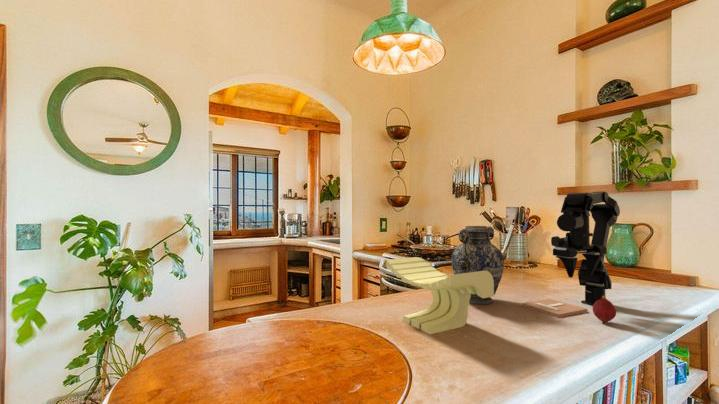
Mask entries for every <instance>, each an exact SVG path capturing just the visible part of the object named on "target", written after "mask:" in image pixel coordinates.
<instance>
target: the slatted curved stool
mask: <svg viewBox="0 0 719 404" xmlns="http://www.w3.org/2000/svg"><path fill="white" fill-rule="evenodd" d="M386 269H388V270H391V273H392V274H395V275H396V278H399V279H401V282H403V283H405V284H408V285H409V284H410V285H411V286H414V287H418V288H420V289H424V290H427V291H430V293H431V294H432V304H431V305H430V306H428V308H426V309H423V310H420V311H418V312H415V313H409V314H405V315H403V318H402V320H401V321H402V322H404V323H405V324H408V325H411V327H414V328H416V329H418V330H421V331H422V332H424V333H426V334H428V335H433V334H436V333H441V332H445V331H449V330H454V329H458V328H463V327H465V325H466V324H467V320H468V313H469V305H470V303H469V301H470V297H471V294H477V295H478V296H480V297H481V298H488V297H491V298H493V297H495V295H494V280H493V277H492V275H491V273H490V272H488V271H477V272H470V273H463V274H455V275H454V274H450V275H448V274H446V273H443V272H441V271H439V270H438V268H436V267H433V266H432V264H431V263H428V262H427V260H426V259H424V258H422V257H418V256H413V257H403V258H402V257H401V258H391V259H390V258H389V259H386Z"/></svg>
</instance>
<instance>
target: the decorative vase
mask: <svg viewBox="0 0 719 404" xmlns="http://www.w3.org/2000/svg"><path fill="white" fill-rule="evenodd" d="M494 238H495V230H494V228H493V227H492V226H486V225H467V226H466V225H465V227H464V228H462V229H460V230H459V232H458V240H459V242H461V243H460V244H458V245H457V246H455V248H454V249H453V251H452V254H451V267H452V271H453V275H455V274H463V273H470V272H477V271H488V272H490V273H491V275H492V277H493V280H494V296H495V295H496V292H497V290H498V287H499V285H500V283H501V281H502V278H503V274H504V268H505V267H504V266H505V265H504V264H505V262H504V255H503V252H502V251H501V249H499V248H498V246H496V245H495V244H493V243H492V240H493V239H494ZM493 302H494V301H493V297H488V298H481V297H480V296H478V295H477V294H471V297H470V301H469V304H473V305H474V304H475V305H489V304H492V303H493Z"/></svg>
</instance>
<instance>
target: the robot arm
mask: <svg viewBox="0 0 719 404" xmlns="http://www.w3.org/2000/svg"><path fill="white" fill-rule="evenodd" d="M560 213H562V214H561V215H560V216H559V217H558V218H557V220H556V225H557V227H558V228H559V229H560V230H561V231H563V232H566V233H565V237H560V236H557V235H556V236H552V237H551V238H550V239H551V240H550V242H551V243H550V244H551V246H553V247H554V248H553V249H552V256H555V258H557V259H559V260H560V261H561V262H562V264H563V265H564V268H565V271H566V273H567V275H568V278H570V279H571V278H572V279H573V277H574V275H575V271H576V267H577V263H578V257H577V256H578V254H581V255H582V256H583V257H584V258H585V259H584V258H583V259H582V260H581V262H580V266H579V269H578V272H577V276H578V282H579V286H583V287H584V300H581V301H580V302H581V303H584V304H587V305H590V306H593V305H594V303H595V302H596V301H598V300H600V299H601V298H602V296H605V297H606V290H612V287H613V284H612V283H613V282H612V280H611V277H610V275H609V273H608V268H607V267H606V265H605V263H604V261H605V255H606V254H607V253H608V252H607V251H608V250H607V245H608V240H609V234H610V229H611V227H612V226H613V225H614V224H616V223H617V221H618V217H619V216H620V214H621V209H620V206H619V203H618V201H617V200H616V199H614V198H612V197H611V196H610V195H609V194H608V192H607V191H592V192H569V193H567V194H566V196H565V197H564V199H563V203H562V207H561V210H560ZM590 216H591V218H592V219H593V221H594V228H593V231H592V232H590ZM590 238H592V239H591V240H590Z"/></svg>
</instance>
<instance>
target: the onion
mask: <svg viewBox="0 0 719 404" xmlns="http://www.w3.org/2000/svg"><path fill="white" fill-rule="evenodd" d="M606 297H607V296H606V295H605V296H602V298H601V299H600V300H598V301H596V302H595V303H594V305H592V312H593V314H594V316H595V317H596V318H597V319H598V320H599V321H600V322H602V323H603V324H605V323H606V324H607V323H609V322H610V321H612V320H613V319H615V317H616V316H617V308H616V307H615V305H614V303H612V302H611V300H608V298H606Z"/></svg>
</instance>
